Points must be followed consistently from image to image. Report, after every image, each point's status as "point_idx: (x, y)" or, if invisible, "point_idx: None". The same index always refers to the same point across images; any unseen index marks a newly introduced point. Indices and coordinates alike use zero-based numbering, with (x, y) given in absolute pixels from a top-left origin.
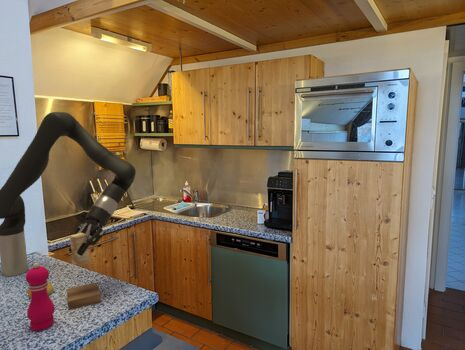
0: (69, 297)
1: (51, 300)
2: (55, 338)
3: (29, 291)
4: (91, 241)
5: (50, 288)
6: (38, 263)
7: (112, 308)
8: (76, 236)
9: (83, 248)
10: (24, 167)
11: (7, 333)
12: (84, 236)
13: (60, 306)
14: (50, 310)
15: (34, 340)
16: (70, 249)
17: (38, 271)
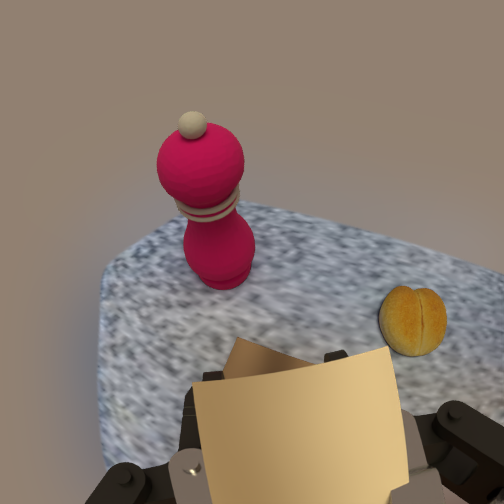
0: (263, 352)
1: (208, 262)
2: (142, 261)
3: (418, 290)
4: (112, 482)
5: (396, 339)
6: (180, 122)
7: (140, 420)
8: (272, 410)
9: (182, 419)
10: None
11: (254, 207)
12: (215, 499)
13: (284, 335)
14: (185, 255)
15: (175, 232)
16: (328, 361)
17: (166, 140)
